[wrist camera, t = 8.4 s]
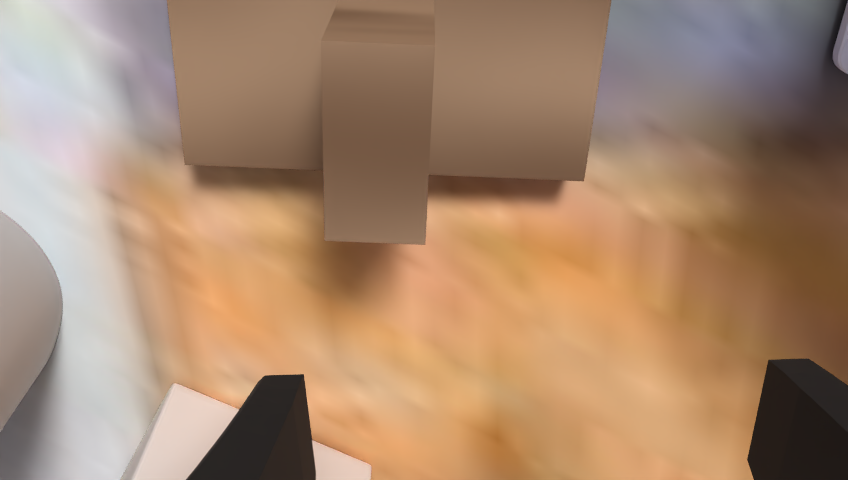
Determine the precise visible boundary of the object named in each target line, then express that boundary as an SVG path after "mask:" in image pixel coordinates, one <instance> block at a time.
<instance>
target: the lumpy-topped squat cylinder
mask: <svg viewBox="0 0 848 480" xmlns="http://www.w3.org/2000/svg"><path fill="white" fill-rule="evenodd" d="M62 309H63V301H62V292H61V287H60V283H59V280H58V277H57V275H56V272H55V270H54V268H53V266H52V264H51V262H50V261H49V259H48V257H47V256H46V254H45V253H44V251H43V250H42V249H41V247H40V246H39V245H38V243H37V242H36V241H35V240H34V239H33V238H32V237H31V236H30V235H29V234H28V233H27V232H26V231H25V230H24V229H23V228H22V227H21V226H20V225H19V224H17V223H16V222H15V221H14V220H12V219H11V218H10V217H9V216H7V215H6V214H5V213H3V212H2V211H0V432H1V430H2V429H3V427H4V426H5V424H6V423H7V421H8V420H9V418H10V417H11V415H12V414H13V412H14V411H15V409H16V408H17V406H18V405H19V403H20V402H21V400H22V399H23V397H24V396H25V394H26V393H27V391H28V390H29V389H30V387H31V386H32V384H33V383H34V381H35V380H36V378H37V377H38V375H39V374H40V372H41V371H42V369H43V368H44V366H45V365H46V363H47V361H48V360H49V358H50V356H51V354H52V351H53V349H54V346H55V343H56V340H57V337H58V333H59V329H60V325H61V319H62Z"/></svg>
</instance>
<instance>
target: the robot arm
mask: <svg viewBox="0 0 848 480" xmlns="http://www.w3.org/2000/svg"><path fill="white" fill-rule="evenodd" d="M833 61H834V64H835V66H837V67H838V68H839V69H840V70H842V71H843V72H845V73H847V74H848V2H847V5H846V8H845V12H844V15H843V19H842V22H841V26H840V29H839V33H838V36H837V39H836V43H835V46H834V50H833ZM747 460H748V463H749V466H750V469H751V472H752V475H753V478H754V480H848V386H847V385H846V384H845V383H843V382H842V381H840V380H839V379H838V378H836V377H835V376H833V375H832V374H831V373H829V372H828V371H826V370H825V369H823V368H822V367H820V366H819V365H817V364H816V363H814V362H813V361H811V360H809V359H781V360H768V365H767V370H766V374H765V379H764V384H763V388H762V393H761V398H760V403H759V407H758V412H757V417H756V422H755V426H754V431H753V436H752V440H751V445H750V450H749V455H748V459H747ZM186 480H316V468H315V460H314V452H313V444H312V436H311V429H310V421H309V413H308V405H307V397H306V389H305V381H304V374H301V375H269V376H264V377H263V378H262V379H261V380H260V381H259V382H258V383H257V384H256V386H255V387H254V389H253V390H252V392H251V393H250V395H249V396H248V398H247V399H246V401H245V402H244V404H243V405H242V407H241V408H240V409H239V411H238V412H237V414H236V415H235V416H234V418H233V419H232V421H231V422H230V423H229V425H228V426H227V427H226V429H225V430H224V432H223V433H222V434H221V436H220V437H219V438H218V440H217V441H216V442H215V443H214V445H213V446H212V447H211V449H210V450H209V451H208V452H207V454H206V455H205V456H204V458H203V459H202V460H201V461H200V463H199V464H198V465H197V467H196V468H195V469H194V470H193V472H192V473H191V474H190V475H189V476H188V478H187V479H186Z"/></svg>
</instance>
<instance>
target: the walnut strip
mask: <svg viewBox="0 0 848 480" xmlns="http://www.w3.org/2000/svg"><path fill="white" fill-rule="evenodd" d="M167 5H168V14H169V24H170V33H171V42H172V51H173V61H174V70H175V79H176V88H177V97H178V107H179V116H180V125H181V134H182V144H183V153H184V162H185V165H203V166H227V167H251V168H275V169H300V170H323V180H324V233H325V241H342V242H368V243H393V244H418V245H425V239H426V219H427V199H428V179H429V175H445V176H469V177H493V178H517V179H542V180H566V181H584V177H585V170H586V164H587V157H588V151H589V144H590V137H591V131H592V124H593V118H594V111H595V104H596V98H597V91H598V85H599V78H600V72H601V65H602V58H603V52H604V45H605V39H606V32H607V25H608V19H609V12H610V6H611V0H167Z"/></svg>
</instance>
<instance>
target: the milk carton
mask: <svg viewBox="0 0 848 480" xmlns="http://www.w3.org/2000/svg"><path fill="white" fill-rule="evenodd" d="M238 411H239V409H237V408H235V407H233V406H230V405H228V404H225V403H223V402H221V401H218V400H216V399H214V398H211V397H209V396H206V395H204V394H202V393H199V392H197V391H194V390H192V389H189V388H187V387H185V386H182V385H180V384H177V383H174V384H172V386H171V387H170V389H169V390H168V392H167V394H166V396H165V397H164V399H163V401H162V403H161V405H160V407H159V408H158V410H157V412H156V414H155V416H154V418H153V420H152V422H151V423H150V425H149V427H148V429H147V431H146V433H145V435H144V436H143V438H142V440H141V442H140V444H139V446H138V448H137V450H136V451H135V453H134V455H133V457H132V459H131V461H130V463H129V465H128V466H127V468H126V470H125V472H124V474H123V476H122V478H121V479H120V480H186V479H187V478H188V476H189V475H190V474H191V473H192V472H193V470H194V469H195V468H196V467H197V465H198V464H199V463H200V461H201V460H202V459H203V458H204V456H205V455H206V454H207V452H208V451H209V450H210V449H211V447H212V446H213V445H214V443H215V442H216V441H217V440H218V438H219V437H220V436H221V434H222V433H223V432H224V430H225V429H226V427H227V426H228V425H229V423H230V422H231V421H232V419H233V418H234V416H235V415H236V414H237V412H238ZM312 444H313V452H314V460H315V468H316V480H371V471H372V467H371V465H370V464H368V463H366V462H363V461H361V460H359V459H356V458H354V457H351V456H349V455H347V454H344V453H342V452H340V451H337V450H335V449H333V448H330V447H328V446H325V445H323V444H321V443H318V442H316V441H314V440H312Z"/></svg>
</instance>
